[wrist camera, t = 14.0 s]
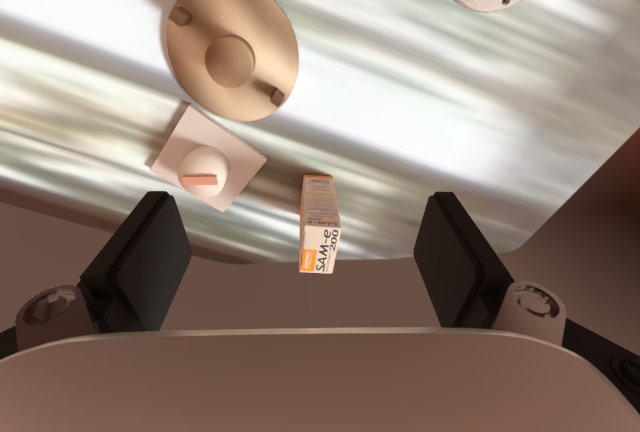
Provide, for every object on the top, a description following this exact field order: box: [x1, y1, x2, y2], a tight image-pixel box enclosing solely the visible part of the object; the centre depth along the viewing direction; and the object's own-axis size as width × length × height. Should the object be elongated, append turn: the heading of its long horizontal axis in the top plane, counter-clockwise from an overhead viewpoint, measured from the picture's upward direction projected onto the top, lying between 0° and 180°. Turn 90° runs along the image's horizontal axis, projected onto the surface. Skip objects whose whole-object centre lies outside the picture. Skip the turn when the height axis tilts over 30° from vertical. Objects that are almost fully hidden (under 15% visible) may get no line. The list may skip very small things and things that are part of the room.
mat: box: [150, 104, 267, 212], centre depth 44 cm, size 12×12×1 cm
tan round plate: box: [167, 0, 299, 121], centre depth 34 cm, size 15×15×5 cm
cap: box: [177, 146, 230, 198], centre depth 41 cm, size 6×6×5 cm
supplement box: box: [299, 175, 341, 273], centre depth 43 cm, size 8×5×13 cm, turn 173°
